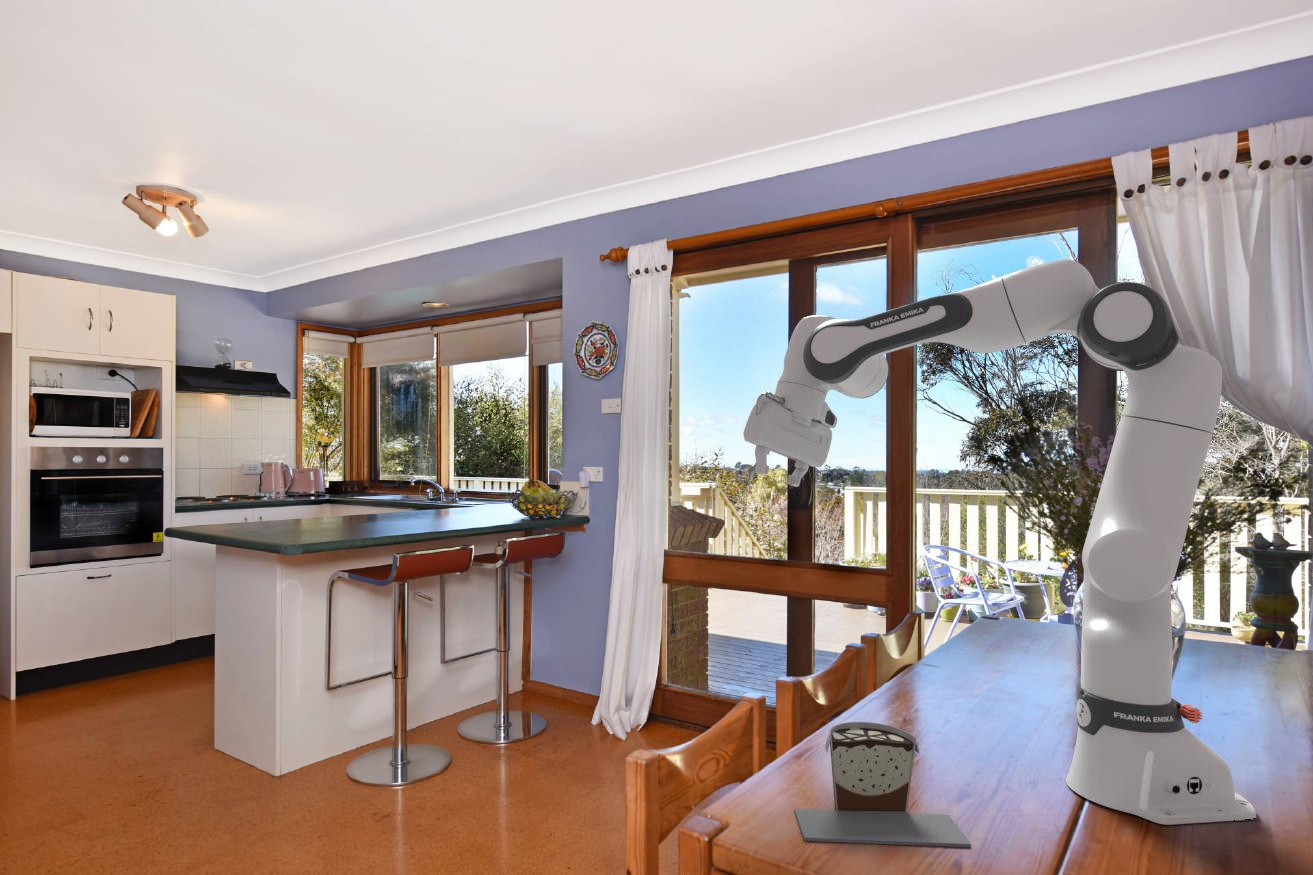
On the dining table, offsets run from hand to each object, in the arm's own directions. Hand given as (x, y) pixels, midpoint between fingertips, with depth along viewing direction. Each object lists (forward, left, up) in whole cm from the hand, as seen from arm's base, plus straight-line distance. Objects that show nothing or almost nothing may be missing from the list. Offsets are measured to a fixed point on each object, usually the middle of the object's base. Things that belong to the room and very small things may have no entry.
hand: (776, 480), depth 135 cm
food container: (-9, +31, -42) cm, 53 cm away
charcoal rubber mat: (-9, +38, -42) cm, 57 cm away
